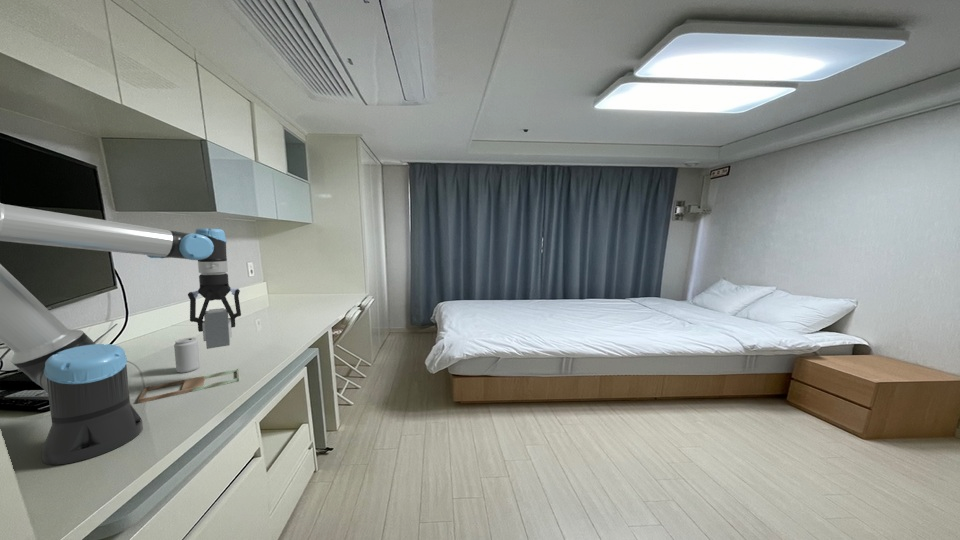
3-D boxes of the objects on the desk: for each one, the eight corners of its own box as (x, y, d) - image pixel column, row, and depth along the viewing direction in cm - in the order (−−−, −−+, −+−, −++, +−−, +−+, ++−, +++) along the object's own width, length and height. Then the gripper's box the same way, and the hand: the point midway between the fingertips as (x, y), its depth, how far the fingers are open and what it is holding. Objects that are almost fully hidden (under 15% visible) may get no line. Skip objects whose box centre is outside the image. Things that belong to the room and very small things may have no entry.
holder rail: (137, 403, 91) (137, 400, 91) (145, 390, 99) (145, 387, 98) (238, 381, 106) (238, 378, 106) (238, 371, 114) (238, 368, 114)
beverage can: (204, 367, 117) (202, 337, 116) (186, 374, 111) (184, 342, 109) (189, 366, 118) (187, 336, 116) (171, 373, 111) (168, 342, 110)
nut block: (206, 349, 101) (203, 312, 100) (207, 344, 106) (205, 309, 105) (229, 345, 105) (227, 310, 104) (229, 340, 110) (227, 307, 109)
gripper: (172, 276, 94) (178, 346, 96) (248, 272, 106) (252, 335, 109) (176, 273, 100) (181, 340, 102) (248, 271, 112) (251, 330, 114)
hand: (218, 338), depth 105 cm, fingers closed on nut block, 6 cm apart
